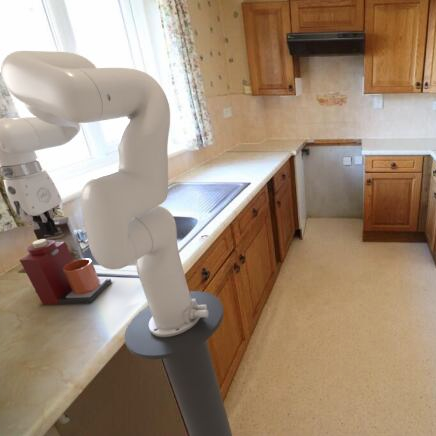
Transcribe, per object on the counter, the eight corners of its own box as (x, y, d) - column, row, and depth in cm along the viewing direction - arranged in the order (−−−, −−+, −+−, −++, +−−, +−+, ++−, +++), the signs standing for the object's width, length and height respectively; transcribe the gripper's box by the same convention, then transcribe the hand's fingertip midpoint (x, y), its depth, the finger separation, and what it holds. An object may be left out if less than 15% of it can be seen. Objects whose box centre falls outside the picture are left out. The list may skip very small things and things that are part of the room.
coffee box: (51, 272, 109) (31, 230, 102) (53, 264, 114) (34, 223, 107) (84, 263, 113) (66, 222, 106) (84, 255, 118) (68, 216, 111)
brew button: (50, 243, 92) (48, 238, 91) (42, 248, 89) (39, 243, 89) (40, 243, 92) (38, 238, 91) (31, 249, 89) (29, 244, 89)
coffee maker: (112, 282, 102) (95, 241, 96) (90, 303, 93) (71, 259, 86) (83, 283, 102) (65, 242, 96) (59, 304, 93) (37, 260, 87)
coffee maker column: (85, 283, 102) (64, 236, 95) (61, 304, 93) (36, 253, 86) (66, 283, 102) (45, 236, 95) (41, 304, 93) (14, 254, 86)
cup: (105, 280, 100) (96, 258, 96) (90, 294, 93) (80, 271, 90) (83, 280, 100) (74, 258, 96) (67, 294, 94) (56, 271, 90)
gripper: (9, 178, 74) (41, 247, 82) (59, 161, 88) (83, 221, 96) (-22, 179, 75) (13, 247, 82) (32, 162, 88) (58, 222, 96)
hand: (50, 233), depth 89 cm, fingers closed
